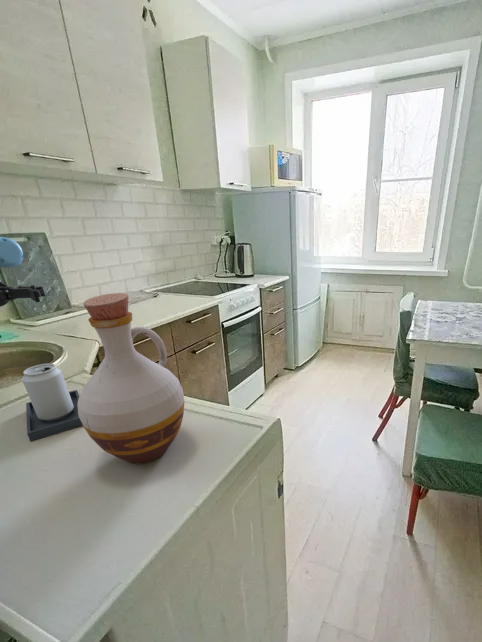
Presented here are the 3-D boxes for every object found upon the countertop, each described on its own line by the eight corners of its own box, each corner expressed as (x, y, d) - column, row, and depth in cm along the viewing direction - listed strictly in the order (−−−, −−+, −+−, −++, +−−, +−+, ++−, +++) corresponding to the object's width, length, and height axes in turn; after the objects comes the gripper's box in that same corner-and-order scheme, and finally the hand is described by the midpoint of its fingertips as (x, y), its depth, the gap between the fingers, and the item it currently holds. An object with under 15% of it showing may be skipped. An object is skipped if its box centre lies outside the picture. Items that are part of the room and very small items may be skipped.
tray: (89, 423, 80) (86, 416, 79) (30, 441, 74) (27, 433, 73) (79, 396, 93) (77, 389, 92) (29, 410, 87) (26, 402, 86)
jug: (148, 417, 81) (114, 284, 68) (214, 429, 75) (191, 286, 62) (74, 470, 65) (12, 308, 52) (152, 491, 59) (103, 313, 46)
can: (76, 415, 82) (59, 368, 77) (38, 426, 79) (18, 377, 73) (73, 403, 88) (57, 359, 83) (38, 413, 84) (19, 367, 79)
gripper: (47, 297, 108) (66, 307, 93) (-61, 314, 92) (-58, 329, 78) (38, 271, 104) (56, 277, 90) (-76, 285, 89) (-75, 294, 75)
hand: (3, 301), depth 84 cm, fingers open, 13 cm apart
